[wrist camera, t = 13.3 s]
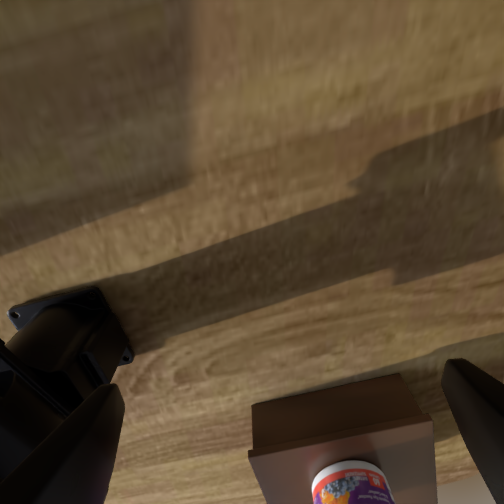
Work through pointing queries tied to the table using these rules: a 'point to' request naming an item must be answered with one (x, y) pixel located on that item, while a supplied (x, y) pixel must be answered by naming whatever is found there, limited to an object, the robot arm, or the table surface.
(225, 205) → the table surface
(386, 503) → the pill bottle
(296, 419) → the cabinet
